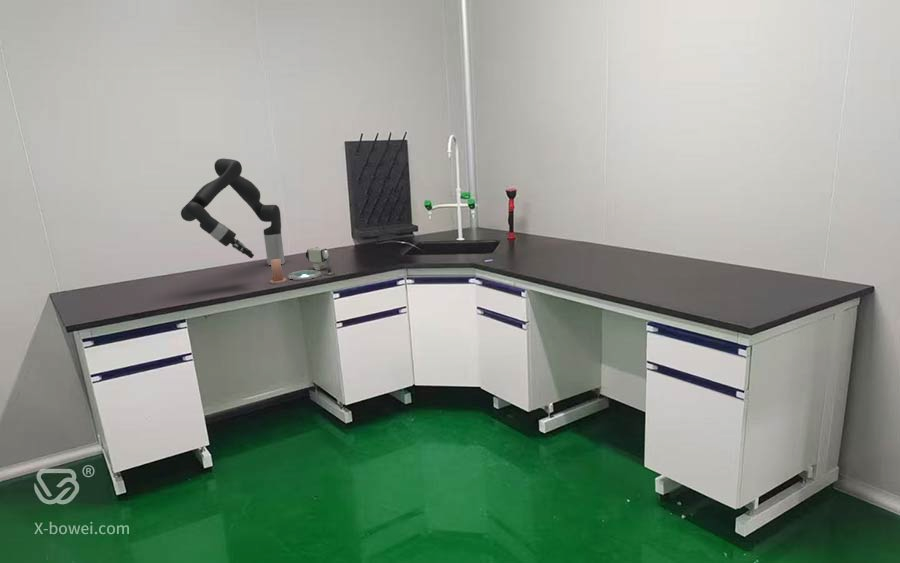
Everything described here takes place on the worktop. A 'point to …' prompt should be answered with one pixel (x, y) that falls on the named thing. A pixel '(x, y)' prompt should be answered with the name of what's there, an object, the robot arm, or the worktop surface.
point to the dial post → (327, 256)
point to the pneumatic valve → (316, 257)
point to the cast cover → (277, 271)
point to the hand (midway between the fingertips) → (251, 255)
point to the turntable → (304, 274)
